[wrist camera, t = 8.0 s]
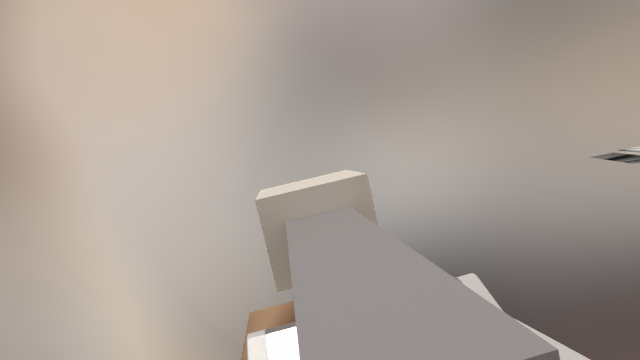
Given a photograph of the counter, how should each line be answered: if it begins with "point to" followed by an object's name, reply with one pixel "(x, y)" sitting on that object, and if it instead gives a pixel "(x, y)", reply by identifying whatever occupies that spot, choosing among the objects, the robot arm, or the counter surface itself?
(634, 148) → the counter surface
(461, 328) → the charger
